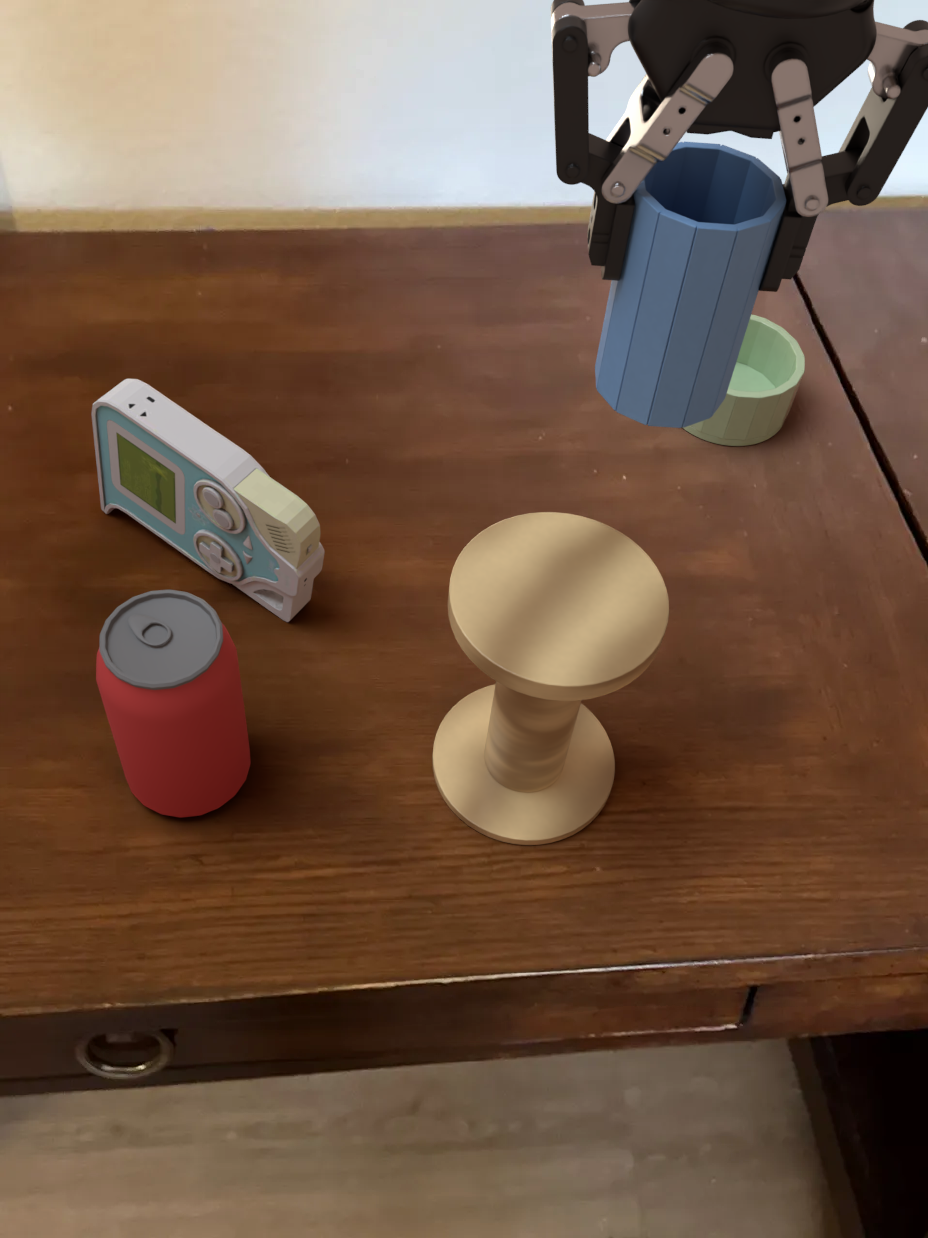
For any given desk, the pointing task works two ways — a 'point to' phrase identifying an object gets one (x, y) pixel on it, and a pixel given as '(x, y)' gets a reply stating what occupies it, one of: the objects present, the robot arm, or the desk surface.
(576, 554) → the stand
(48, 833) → the desk surface
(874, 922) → the desk surface
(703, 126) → the robot arm
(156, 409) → the handheld gaming console
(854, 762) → the desk surface
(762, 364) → the green cup
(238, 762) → the beer can
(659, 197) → the blue cup
